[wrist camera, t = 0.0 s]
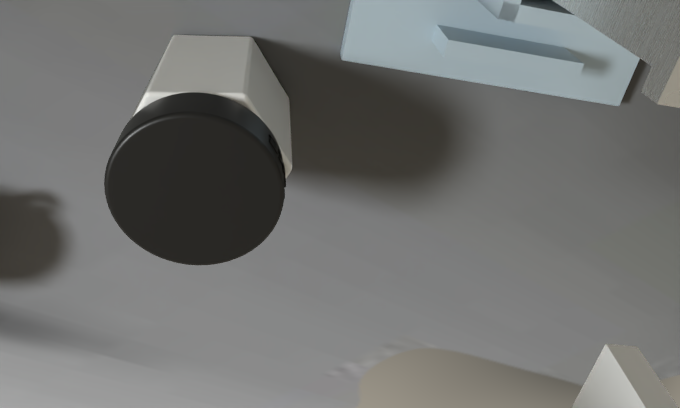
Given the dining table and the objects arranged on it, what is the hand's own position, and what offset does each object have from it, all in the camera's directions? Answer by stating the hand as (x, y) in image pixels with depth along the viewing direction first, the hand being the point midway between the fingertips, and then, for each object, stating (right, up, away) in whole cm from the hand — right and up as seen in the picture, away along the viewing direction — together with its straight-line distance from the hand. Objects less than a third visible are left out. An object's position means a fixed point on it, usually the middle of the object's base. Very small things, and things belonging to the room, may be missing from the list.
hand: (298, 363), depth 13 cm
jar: (-7, +10, +26) cm, 29 cm away
